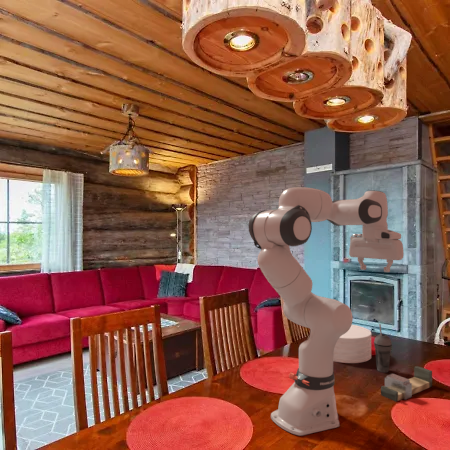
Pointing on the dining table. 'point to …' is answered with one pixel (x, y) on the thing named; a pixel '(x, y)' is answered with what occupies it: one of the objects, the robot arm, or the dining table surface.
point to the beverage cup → (382, 351)
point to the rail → (419, 383)
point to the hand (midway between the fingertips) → (374, 270)
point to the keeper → (399, 385)
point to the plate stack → (353, 346)
